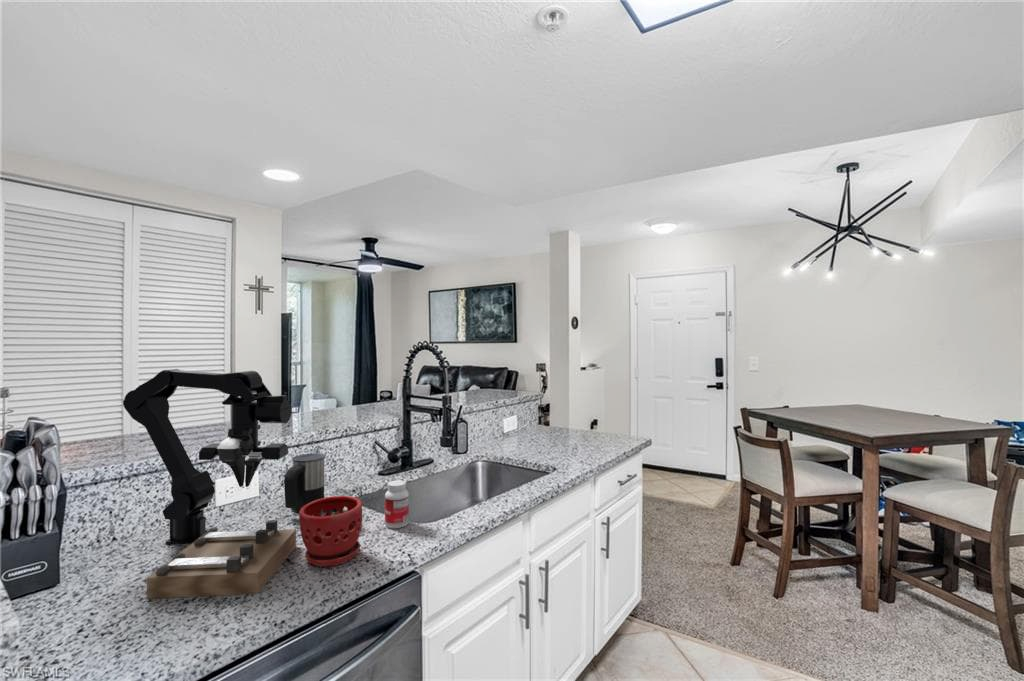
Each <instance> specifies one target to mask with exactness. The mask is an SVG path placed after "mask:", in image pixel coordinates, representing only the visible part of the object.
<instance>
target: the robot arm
mask: <svg viewBox="0 0 1024 681" xmlns="http://www.w3.org/2000/svg"><path fill="white" fill-rule="evenodd" d="M178 387H180V388H181V387H182V388H191V389H193V388H195V389H207V390H215V391H219V392H220V393H223V394H225V395H226V394H227V395H228V397H227V398H226V399H224V400H223V401H222V402H221V404H222V405H223V406H224V405H225V406H226V405H227V406H231V412H230V413H231V414H230V415H231V419H230V420H231V424H230V426H231V428H228V431H227V436H226V438H224V439H223V440H222V441H221V442H220V443H219V442H218V443H210V444H208V445H205V446H203V447H201V449H200V450H199V452H198V460H200V461H212V460H214V458H216V456H218V459H219V461H220V462H221V463H222V464H226V465H227V466H229V468H230V469H231V470H232V472H233V474H234V477H235V479H236V482H237V483H238V486H239V488H243V487H244V485H245V488H248V487H250V485H251V482H252V480H253V478H254V476H255V473H256V472H257V469H258V468H259V466H260V463H261V462H262V461H263V460H265V461H266V460H267V461H269V460H270V461H272V460H273V461H274V460H275V461H276V460H280V459H282V458H283V457H285V456H287V455H288V454H289V447H288V445H287V443H285V442H284V443H283V442H282V443H281V442H280V443H279V442H278V443H273V442H272V443H270V444H268V445H266V446H263V447H262V446H261V440H259V430H260V429H261V424H287V423H288V422H289V421H290V419H291V417H292V413H293V407H292V406H291V403H290V401H289V400H288V395H287V394H281V395H273V394H272V393H271V391H270V390H269V389H268V387H267V386H266V385H265V383H264V381H263V379H262V376H261V375H260V374H259V372H257V371H256V370H247V371H236V372H228V373H219V372H209V371H208V372H205V371H193V370H181V369H179V368H173V369H164V370H161V371H160V372H158V373H157V374H156V375H155V376H153V377H152V378H150V379H149V380H147V381H145V382H144V383H142V384H140V385H139V386H137V387H136V388H135V389H133V390H129V392H127V393H126V395H125V396H124V399H123V400H122V405H123V408H124V409H125V411H126V412H127V413H128V414H129V416H130V417H131V419H133V420H134V421H136V422H137V423H139V425H142V426H144V429H146V431H147V434H148V436H149V437H150V439H151V442H152V443H153V445H154V448H155V449H156V451H157V452H158V455H159V457H160V458H161V460H162V462H163V464H164V466H165V468H166V470H167V472H168V473H169V475H170V478H171V486H170V488H171V490H170V494H171V497H172V501H171V502H170V503H169V504H168V505H167V506H166V507H165V508H164V509H163V510H162V514H163V518H164V519H165V520H169V538H168V539H167V540H166V541H165V544H166V545H167V544H169V545H171V544H189V543H190V544H192V543H193V542H194V541H195V540H197V539H198V538H199V537H201V536H202V535H204V534H205V533H206V532H207V531H208V529H206V528H207V527H206V522H207V519H206V516H205V511H204V509H206V508H208V506H209V503H210V501H211V500H212V499H213V497H214V495H215V493H216V490H215V486H214V485H216V482H214V480H212V478H211V475H210V472H209V471H208V470H205V471H202V472H201V471H199V470H198V469H197V468H195V467H194V464H193V463H192V460H191V459H190V457H189V455H188V453H187V451H186V449H185V447H184V445H183V443H182V442H181V440H180V438H179V435H178V433H177V432H176V429H175V428H174V426H173V424H172V423H171V420H170V418H169V412H170V402H169V398H170V397H172V396H173V394H174V393H175V392H176V390H177V388H178ZM259 422H260V424H259ZM246 456H248V458H247V459H246ZM244 483H245V484H244Z"/></svg>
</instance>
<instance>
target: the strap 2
mask: <svg viewBox="0 0 1024 681" xmlns="http://www.w3.org/2000/svg"><path fill="white" fill-rule="evenodd" d="M258 530H259V529H257V530H236V531H235V530H234V531H233V530H231V531H218V532H209V533H208V534H207V535H205V536H204V537H205V539H206V541H224V540H250V539H256V532H257V531H258ZM273 534H274V530H268V539H269V538H270V537H271V536H272V535H273Z"/></svg>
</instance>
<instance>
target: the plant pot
mask: <svg viewBox="0 0 1024 681" xmlns="http://www.w3.org/2000/svg"><path fill="white" fill-rule="evenodd" d="M343 507H344V508H346V509H347V510H346V511H347V512H344V511H343V510H344V509H343ZM332 509H337V510H338V511H339V514H337V515H332V516H331V512H332V511H331V510H332ZM322 511H324V512H325V513H324V514H322V515H321V512H322ZM298 513H299V514H298V515H299V516H298V517H299V529H300V534H301V535H300V536H301V538H302V542H303V544H304V547H305V548H306V551H305V554H304V556H305V557H304V558H305V559H306V561H307V562H308V563H310V564H312V565H313V566H318V567H333V566H337V565H338V566H339V565H342V564H344V563H345V562H349V561H350V560H352V559H354V558H355V556H357V554H358V553H359V551H360V548H361V544H360V542H359V541H358V540H359V537H360V535H361V530H362V523H363V506H362V501H361V499H360V498H357V497H355V496H350V495H337V496H336V495H335V496H334V495H333V496H327V497H324V498H322V499H318V500H315V501H313V502H310V503H308V504H306V505H305V506H303V507H302V508H301V509H300V512H298ZM353 521H354V524H353Z"/></svg>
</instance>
